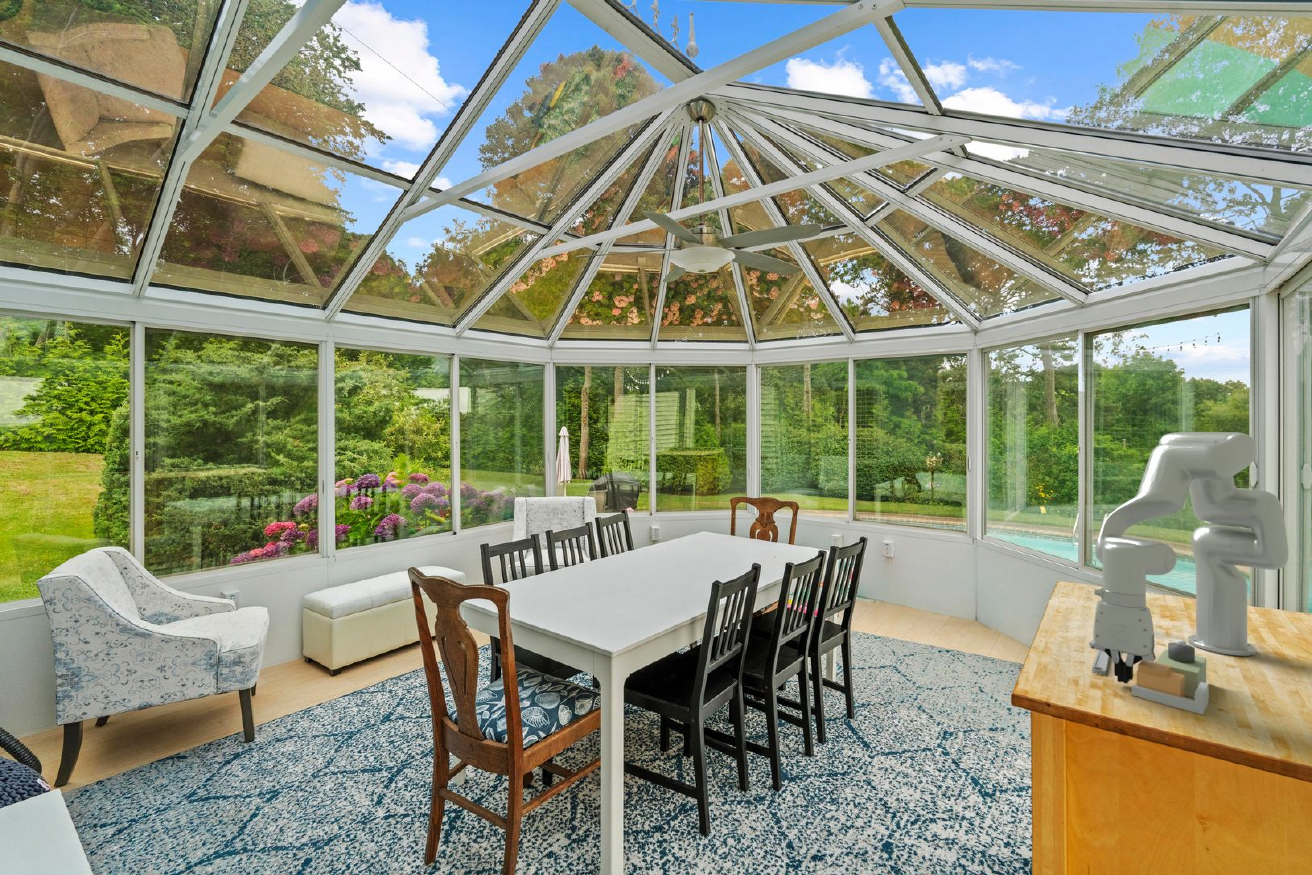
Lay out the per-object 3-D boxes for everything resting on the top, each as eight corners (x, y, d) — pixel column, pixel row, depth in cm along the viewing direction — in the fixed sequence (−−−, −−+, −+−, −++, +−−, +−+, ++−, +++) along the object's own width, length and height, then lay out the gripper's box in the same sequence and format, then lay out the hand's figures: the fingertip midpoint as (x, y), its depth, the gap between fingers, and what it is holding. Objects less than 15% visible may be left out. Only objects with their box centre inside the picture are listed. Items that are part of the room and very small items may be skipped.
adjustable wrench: (1105, 678, 133) (1105, 671, 133) (1072, 670, 138) (1072, 663, 138) (1123, 648, 150) (1123, 641, 150) (1093, 642, 155) (1093, 636, 155)
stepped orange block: (1142, 687, 127) (1142, 658, 127) (1184, 698, 122) (1184, 668, 122) (1136, 694, 124) (1136, 664, 124) (1180, 705, 119) (1180, 675, 119)
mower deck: (1151, 669, 137) (1151, 628, 136) (1216, 684, 128) (1216, 641, 128) (1131, 695, 124) (1131, 650, 123) (1202, 714, 115) (1202, 666, 115)
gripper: (1078, 594, 131) (1078, 674, 131) (1164, 610, 120) (1164, 697, 120) (1087, 588, 136) (1087, 666, 136) (1171, 603, 124) (1171, 687, 125)
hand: (1123, 680), depth 128 cm, fingers closed
